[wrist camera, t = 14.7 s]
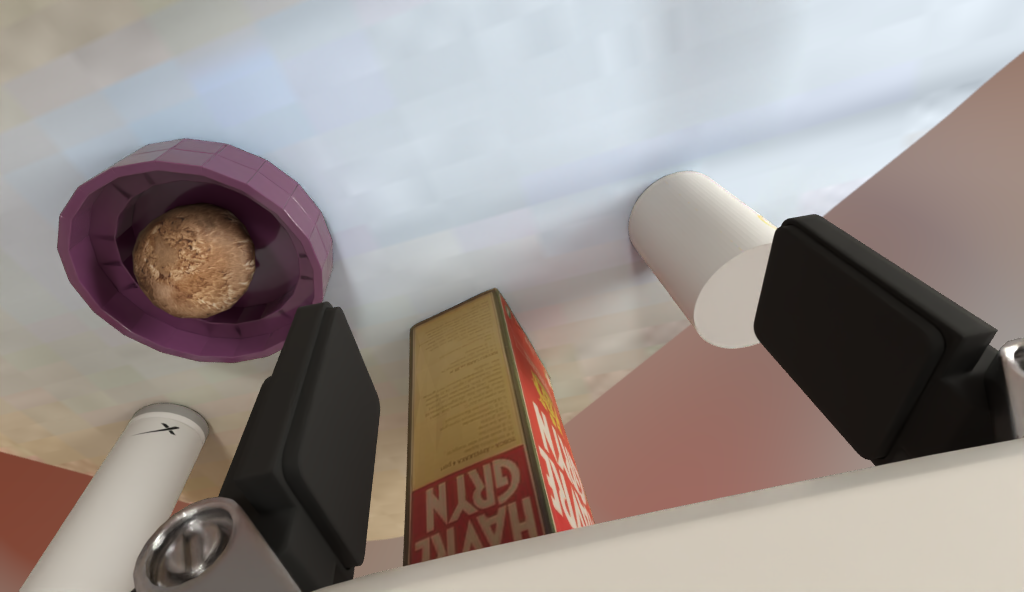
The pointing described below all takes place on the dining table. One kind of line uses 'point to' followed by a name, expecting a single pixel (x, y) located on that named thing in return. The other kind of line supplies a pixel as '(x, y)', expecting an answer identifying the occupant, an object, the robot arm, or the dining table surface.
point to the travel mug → (123, 504)
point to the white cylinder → (704, 253)
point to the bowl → (182, 181)
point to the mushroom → (194, 260)
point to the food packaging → (483, 437)
